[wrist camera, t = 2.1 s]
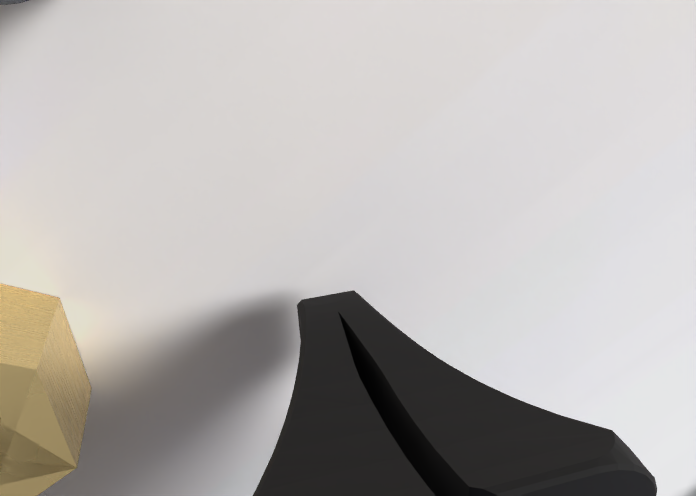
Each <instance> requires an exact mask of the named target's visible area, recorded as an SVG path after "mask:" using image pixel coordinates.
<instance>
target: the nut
mask: <svg viewBox="0 0 696 496" xmlns="http://www.w3.org/2000/svg"><path fill="white" fill-rule="evenodd" d="M90 394H91V386H90V383H89V380H88V377H87V375H86V372H85V369H84V366H83V363H82V360H81V358H80V355H79V352H78V349H77V346H76V344H75V341H74V338H73V335H72V332H71V329H70V327H69V324H68V321H67V318H66V315H65V313H64V310H63V307H62V304H61V301H60V298H58V297H54V296H50V295H45V294H41V293H37V292H33V291H29V290H25V289H20V288H16V287H12V286H8V285H4V284H0V496H37V495H39V494H40V493H42V492H43V491H44V490H46V489H47V488H49V487H50V486H52V485H53V484H54V483H56V482H57V481H59V480H60V479H62V478H63V477H64V476H66V475H67V474H69V473H70V472H72V471H73V470H75V469H76V468H77V464H78V459H79V453H80V448H81V443H82V437H83V432H84V426H85V421H86V416H87V410H88V405H89V400H90Z"/></svg>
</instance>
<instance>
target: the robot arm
mask: <svg viewBox="0 0 696 496" xmlns="http://www.w3.org/2000/svg"><path fill="white" fill-rule="evenodd" d="M297 309H298V319H299V328H300V338H301V345H300V357H299V364H298V369H297V375H296V380H295V385H294V390H293V394H292V398H291V402H290V405H289V409H288V412H287V416H286V419H285V422H284V425H283V428H282V430H281V433H280V436H279V439H278V442H277V444H276V447H275V449H274V452H273V454H272V457H271V459H270V461H269V463H268V465H267V467H266V470H265V472H264V474H263V476H262V478H261V480H260V483H259V485H258V487H257V489H256V491H255V493H254V494H253V496H656V493H657V487H656V482H655V478H654V477H653V476H652V474H651V473H650V472H649V471H648V470H647V469H646V467H645V466H644V465H643V464H642V463H641V461H640V460H639V459H638V458H637V457H636V455H635V454H634V453H633V452H632V451H631V449H630V448H629V447H628V446H627V445H626V444H625V443H624V442H623V441H622V440H621V439H620V438H619V437H618V436H617V435H616V434H615V433H614V432H613V431H612V430H609V429H606V428H602V427H599V426H595V425H592V424H588V423H585V422H581V421H578V420H574V419H571V418H567V417H564V416H561V415H558V414H555V413H552V412H550V411H547V410H544V409H541V408H538V407H536V406H533V405H530V404H528V403H525V402H523V401H520V400H518V399H515V398H513V397H511V396H509V395H506V394H504V393H502V392H500V391H498V390H495V389H493V388H491V387H489V386H487V385H485V384H483V383H481V382H479V381H477V380H475V379H473V378H471V377H469V376H468V375H466V374H464V373H462V372H461V371H459V370H457V369H455V368H453V367H452V366H450V365H448V364H447V363H445V362H443V361H442V360H440V359H439V358H437V357H436V356H434V355H433V354H431V353H430V352H428V351H427V350H426V349H424V348H423V347H421V346H420V345H419V344H417V343H416V342H415V341H413V340H412V339H411V338H409V337H408V336H407V335H405V334H404V333H403V332H402V331H400V330H399V329H398V328H397V327H395V326H394V325H393V324H392V323H390V322H389V321H388V320H387V319H386V318H385V317H383V316H382V315H381V314H380V313H379V312H378V311H377V310H375V309H374V308H373V307H372V306H371V305H370V304H369V303H368V302H366V301H365V300H364V299H363V298H362V297H361V296H360V295H359V294H358V293H356V292H355V291H348V292H342V293H337V294H331V295H326V296H320V297H315V298H309V299H304V300H301V301H300V302H299V303H298V305H297Z"/></svg>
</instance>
